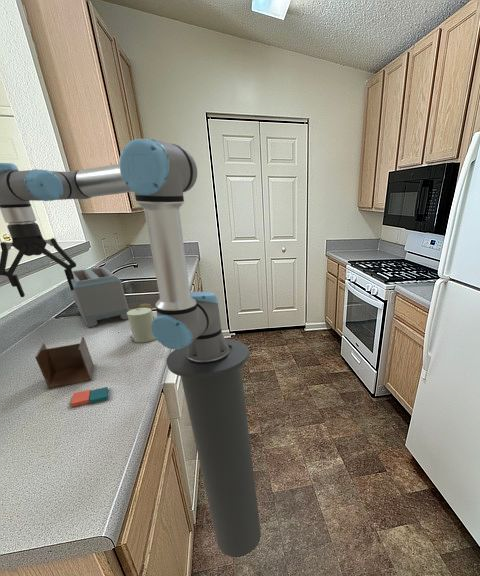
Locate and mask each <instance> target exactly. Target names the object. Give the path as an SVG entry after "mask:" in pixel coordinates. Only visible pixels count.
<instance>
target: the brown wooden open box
mask: <svg viewBox="0 0 480 576" xmlns="http://www.w3.org/2000/svg"><path fill="white" fill-rule="evenodd" d="M34 358H35V360H36V362H37V365H38V367H39V370H40V372H41V374H42V376H43V379H44V381H45V383H46V386H47V387H48V389H49V390H51V389H55V388H59V387H60V388H61V387H65V386H69V385H70V386H71V385H74V384H79V383H84V382H89V381H92V378H93V372H94V368H95V364H94V362H93V359H92V357H91V353H90V350H89V348H88V345H87V342H86V339H85V337H84V336H82V337H81V339H80V342H79V343H73V344H67V345H62V346H56V347H49V348H47V346H46V343H45V342H43V343H41V346H40V347H39V350H38V352H37V353H36V355H35V356H34Z"/></svg>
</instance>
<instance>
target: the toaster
mask: <svg viewBox="0 0 480 576" xmlns="http://www.w3.org/2000/svg"><path fill="white" fill-rule="evenodd" d="M72 273H73V276H74V279H72V280H71V281H72V284H73V287H74V290H71V289H70V291H71V295H72V297H73V300H74V303H75V306H76V308H77V310H78V312H79V314H80V315H81V318H82V319H83V321H84V323H85V324H86V327H87V328H94V327H96V326H97V325H98V321H101V320H104V319H109V318H113V317H119V318H120V319H122V320H125V321H127V320H129V319H128V316H127V312H128V311H130V308H129V305H128V300H127V298H126V294H125V290H124V287H123V283H122V282H123V281H122V279H120V278H119V277H118V276H116V275H115V274H114V273H112V272H111V271H110V270H109V269H107V268H106V267H105V266H97V267H92V268H84V269H78V270H77V269H76V270H72Z"/></svg>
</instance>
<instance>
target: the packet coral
mask: <svg viewBox="0 0 480 576" xmlns="http://www.w3.org/2000/svg"><path fill="white" fill-rule="evenodd" d="M90 393H91V389H86V390H82V391H77V392H73V394H72V397H71V401H70V405H71V407H72V408H74V407H78V406H82V405H86V404H91V403H90V401H89V400H90Z"/></svg>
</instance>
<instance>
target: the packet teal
mask: <svg viewBox="0 0 480 576" xmlns="http://www.w3.org/2000/svg"><path fill="white" fill-rule="evenodd" d="M90 390H91V389H90ZM108 400H109V388H108V386H105V387H100V388H96V389H92V390H91V393H90V400H89V401H90V403H89V404H91V405H92V404H96V403H101V402H105V401H108Z"/></svg>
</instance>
